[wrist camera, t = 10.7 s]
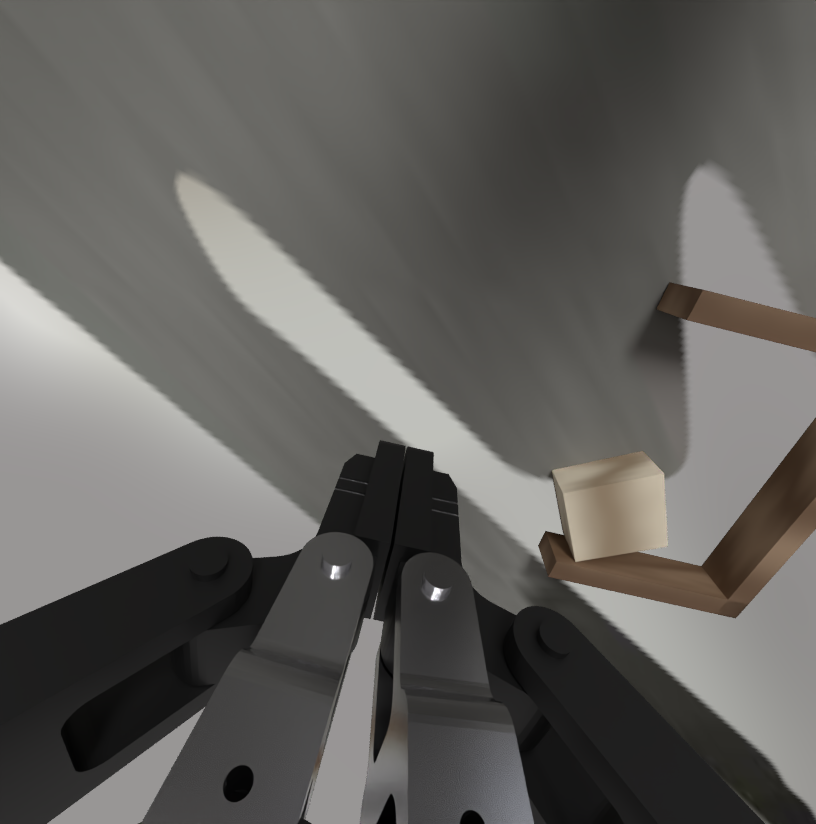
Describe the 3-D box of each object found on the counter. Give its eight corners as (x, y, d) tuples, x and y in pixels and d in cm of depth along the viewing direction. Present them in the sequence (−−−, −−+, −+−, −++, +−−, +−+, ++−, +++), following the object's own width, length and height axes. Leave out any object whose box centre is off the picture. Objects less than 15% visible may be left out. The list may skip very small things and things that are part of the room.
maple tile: (640, 448, 26) (663, 473, 24) (645, 516, 29) (668, 546, 26) (550, 467, 27) (563, 493, 25) (562, 531, 30) (575, 561, 27)
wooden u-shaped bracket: (669, 282, 21) (703, 289, 19) (903, 341, 22) (969, 357, 19) (538, 545, 30) (548, 576, 27) (708, 583, 30) (735, 618, 28)
